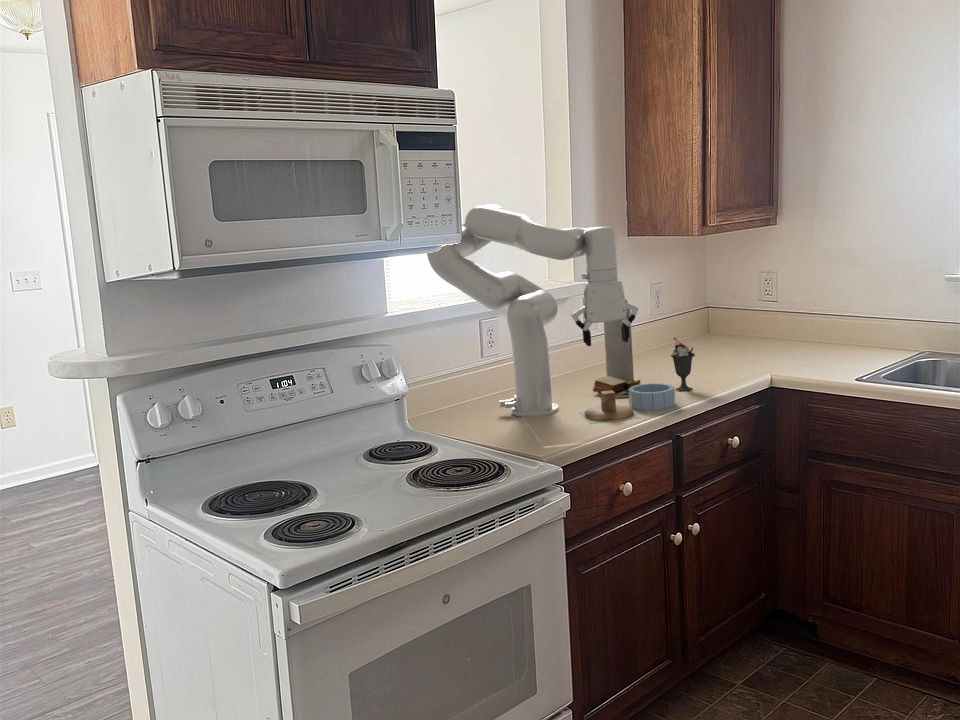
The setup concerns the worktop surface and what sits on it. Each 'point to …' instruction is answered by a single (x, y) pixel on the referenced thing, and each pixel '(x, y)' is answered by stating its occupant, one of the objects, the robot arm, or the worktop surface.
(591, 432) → the worktop surface
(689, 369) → the sundae
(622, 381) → the toy sandwich meal
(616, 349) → the thermos bottle
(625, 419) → the mat
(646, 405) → the bowl
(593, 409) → the lid
